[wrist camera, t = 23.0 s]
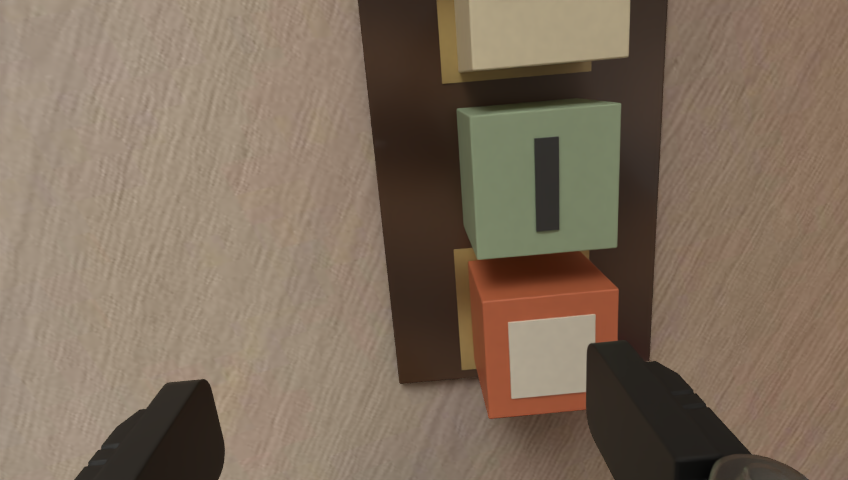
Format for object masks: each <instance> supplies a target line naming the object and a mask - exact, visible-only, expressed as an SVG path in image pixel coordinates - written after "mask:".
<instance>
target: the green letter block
mask: <svg viewBox="0 0 848 480" xmlns="http://www.w3.org/2000/svg"><path fill="white" fill-rule="evenodd" d="M457 127H458V143H459V159H460V176H461V192H462V208H463V224H464V228H465V230H466V233H467V235H468V238H469V240H470V243H471V245H472V248H473V250H474V253H475V255H476V258H477V260H484V259H496V258H507V257H518V256H529V255H541V254H552V253H563V252H574V251H586V250H597V249H608V248H616V247H617V237H618V202H619V167H620V131H621V103H617V102H607V101H598V100H589V99H580V98H574V99H562V100H550V101H539V102H527V103H515V104H504V105H492V106H480V107H469V108H458V109H457Z"/></svg>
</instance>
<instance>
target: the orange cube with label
mask: <svg viewBox="0 0 848 480" xmlns="http://www.w3.org/2000/svg"><path fill="white" fill-rule="evenodd" d="M468 272H469V287H470V302H471V318H472V333H473V348H474V361H475V365H476V369H477V373H478V377H479V381H480V385H481V389H482V393H483V397H484V401H485V405H486V409H487V413H488V417H489V419H494V418H505V417H515V416H525V415H536V414H546V413H556V412H567V411H577V410H586V359H587V348H588V345H589V344H590V343H599V342H609V341H618V302H619V289H618V288H617V287H616V286H615V285H614V284H613V283H612V282H611V281H610V280H609V279H608V278H607V277H606V276H605V275H604V274H603V273H602V272H601V271H600V270H599V269H598V268H597V267H596V266H595V265H594V264H593V263H592V262H591V261H590V260H589V259H588V258H587V257H586V256H585V255H584V254H582V253H581V252H580V251H574V252H563V253H552V254H541V255H529V256H518V257H507V258H496V259H485V260H474V261H468Z"/></svg>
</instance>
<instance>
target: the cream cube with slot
mask: <svg viewBox="0 0 848 480" xmlns="http://www.w3.org/2000/svg"><path fill="white" fill-rule="evenodd" d="M454 6H455V22H456V38H457V55H458V71H459V72H460V73H462V72H473V71H484V70H496V69H507V68H518V67H530V66H541V65H553V64H564V63H575V62H586V61H597V60H607V59H617V58H627V57H628V56H629V29H630V0H454Z"/></svg>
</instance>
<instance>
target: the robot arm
mask: <svg viewBox="0 0 848 480" xmlns="http://www.w3.org/2000/svg"><path fill="white" fill-rule="evenodd" d="M586 414H587V420H588V425H589V428H590V432H591V434H592V437H593V439H594V441H595V443H596V445H597V447H598V449H599V450H600V452H601V454H602V456H603V458H604V460H605V462H606V464H607V466H608V468H609V470H610V472H611V473H612V475H613V477H614V479H615V480H809V479H807V478H806V477H805V476H804V475H802V474H801V473H800V472H798V471H797V470H795V469H793V468H791V467H790V466H788V465H786V464H784V463H781V462H779V461H776V460H773V459H771V458H767V457H763V456H759V455H753V454H751V453H750V452H749V451H748V449H747V448H746V447H745V446H744V445H743V444H742V443H741V442H740V441H739V440H738V439H737V437H736V436H735V435H734V434H733V433H732V432H731V431H730V430H729V429H728V428H727V427H726V425H725V424H724V423H723V422H722V421H721V420H720V419H719V418H718V417H717V416H716V415H715V413H714V412H713V411H712V410H711V409H710V408H709V407H706V404H705V403H704V401H703V400H702V399H701V398H700V397H699V396H698V395H697V394H694V392H693V389H692V388H691V387H690V386H689V385H688V384H687V383H686V382H685V381H684V380H683V379H682V377H681V376H680V375H679V374H677V373H676V372H674V371H672V370H670V369H669V368H667V367H665V366H663V365H662V364H660V363H658V362H656V361H653V362H645V361H644V360H643V359H642V358H641V356H640V355H639V354H638V353H637V352H636V350H635V349H634V348H633V347H632V346H631V344H630V343H629V342H628V341H626V340H620V341H609V342H599V343H590V344H589V345H588V348H587V359H586ZM224 456H225V447H224V440H223V435H222V431H221V427H220V423H219V419H218V414H217V410H216V406H215V402H214V398H213V394H212V390H211V387H210V384H209V383H208V381H207V380H205V379H201V380H191V381H180V382H170V383H167V384H165V385H164V386H163V387H162V389H161V390H160V391H159V393H158V394H157V395H156V397H155V398H154V399H153V401H152V402H151V403H150V405H149V406H148V407H147V409H142V410H139V411H138V412H136V413H135V414H134V415H132V416H131V417H130V418H128V419H127V420H125V421H124V422H123V423H121V424H120V425H119V426H117V427H116V429H115V430H114V431H113V432H112V434H111V435H110V436H109V437H108V439H107V440H106V441H105V442H104V444H103V445H102V446H101V450H98V451H97V452H96V453H95V455H94V456H93V457H92V458H91V460H90V461H89V462H88V466H87V467H84V468H83V470H82V471H81V472H80V473H79V475H78V476H77V477H76V478H75V480H218V479H219V477H220V474H221V472H222V468H223V464H224Z"/></svg>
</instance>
